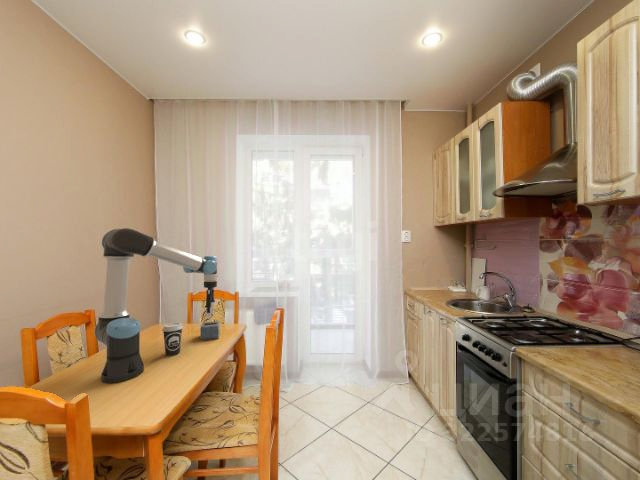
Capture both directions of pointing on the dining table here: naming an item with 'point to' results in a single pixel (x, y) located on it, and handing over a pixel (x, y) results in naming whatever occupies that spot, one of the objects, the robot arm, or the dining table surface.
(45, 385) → the dining table surface
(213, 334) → the coin box
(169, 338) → the coffee cup
